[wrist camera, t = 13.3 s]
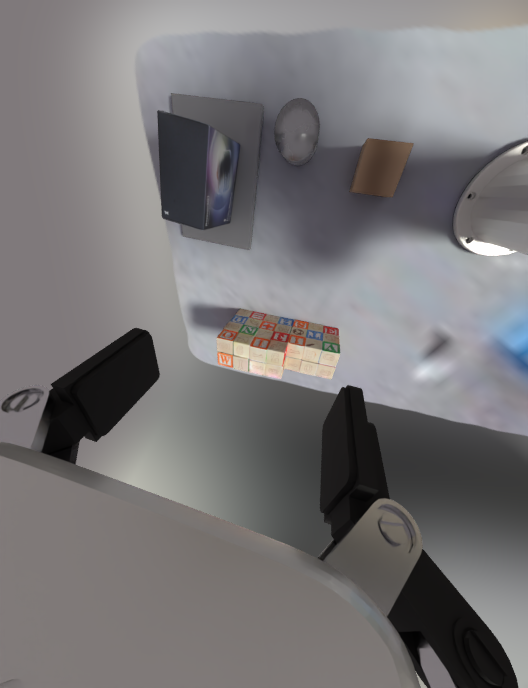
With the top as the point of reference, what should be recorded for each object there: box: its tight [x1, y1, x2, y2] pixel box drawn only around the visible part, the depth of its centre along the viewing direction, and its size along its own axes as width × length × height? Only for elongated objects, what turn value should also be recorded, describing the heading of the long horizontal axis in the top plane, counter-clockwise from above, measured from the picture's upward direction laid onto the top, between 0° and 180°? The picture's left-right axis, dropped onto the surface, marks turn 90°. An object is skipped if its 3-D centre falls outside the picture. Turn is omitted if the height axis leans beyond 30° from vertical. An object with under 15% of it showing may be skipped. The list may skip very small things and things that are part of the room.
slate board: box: [171, 93, 264, 250], centre depth 35 cm, size 13×18×1 cm
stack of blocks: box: [217, 309, 340, 379], centre depth 42 cm, size 21×6×12 cm, turn 86°
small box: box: [157, 110, 240, 231], centre depth 30 cm, size 11×6×10 cm, turn 167°
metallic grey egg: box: [274, 98, 320, 166], centre depth 27 cm, size 5×5×7 cm
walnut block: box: [349, 138, 414, 197], centre depth 28 cm, size 5×5×5 cm
